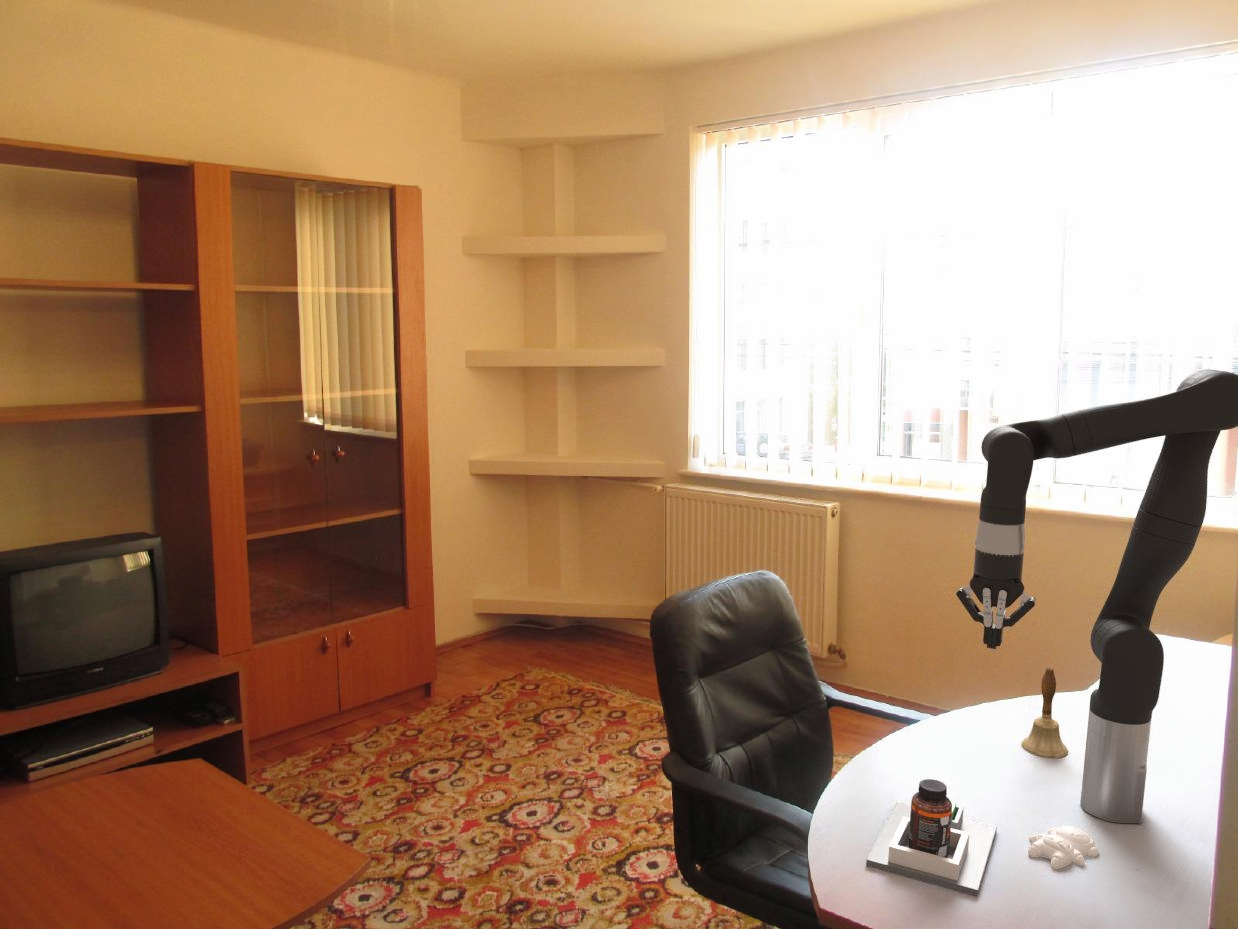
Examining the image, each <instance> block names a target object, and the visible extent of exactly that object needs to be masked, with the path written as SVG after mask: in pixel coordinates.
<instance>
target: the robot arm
mask: <svg viewBox="0 0 1238 929" xmlns="http://www.w3.org/2000/svg"><path fill="white" fill-rule="evenodd" d="M1237 427H1238V374H1236V373H1234V372H1231V371H1226V370H1219V369H1218V370H1217V369H1210V368H1209V369H1207V368H1206V369H1200V370H1196V371H1195V372H1192V373H1190V374H1189V375H1187V376H1186V377H1185V378H1183V380H1182V381H1181V382H1180V383H1179V385H1178V387H1177V389H1176V390H1175V391H1174V392H1171V393H1167V394H1163V395H1159V396H1155V397H1150V398H1146V399H1140V400H1134V401H1127V402H1118V403H1111V404H1103V405H1097V406H1092V407H1090V406H1089V407H1087V408H1082V409H1078V410H1072V411H1068V412H1065V413H1062V414H1058V415H1053V416H1050V417H1048V418H1043V419H1035V420H1028V421H1020V422H1014V423H1009V424H1005V425H1004V424H1003V425H1000V426H997V427H995V428H992V429H991V430H990V431H988V432H987V433H986V434H985V435H984V438H983V439H982V442H981V447H980V448H981V454H982V456H983V458H984V459H985V460H986V462H987V470H986V471H987V472H986V482H985V486H984V487H983V489H982V491H981V495H980V503H979V515H978V516H979V517H978V524H977V529H976V536H975V540H974V541H975V542H974V545H975V550H974V551H975V552H974V562H973V563H974V564H973V574H972V577H971V579H970V580H969V584H966V586H964V587H963V586H962V587H959V588H958V589H957V591H956V593H955V595H956V597H957V598H958V600H959V601H960V603H961V604H962V606H963V607H964V609H965V610H966V611H967V612H968V614H969V616H970V617H971V619H972V620H973V621H974V622H977V623H980V624H982V625H983V639H982V642H983V644H984V645H986V649H987V648H988V649H993V650H997V648H998V647H1001V644H1002V643H1003V634H1004V632H1003V631H1004V628H1007V627H1009V628H1011V627H1013V626H1015V624H1017V623H1018V622H1019V621H1020V620H1021V619H1022V618H1023V617H1024V616H1025V615H1026V614H1028V612H1030V611H1031V610H1032V609H1033V608H1034V607H1035V606H1036V603H1037V599H1036V597H1034V596H1030V595H1029V594H1028V593H1027V592H1026V591H1025V586H1024V584H1023V580H1022V579H1023V567H1024V566H1023V565H1024V556H1025V554H1024V553H1025V542H1026V529H1025V521H1026V510H1027V509H1026V508H1027V492H1028V489H1029V485H1030V482H1031V477H1032V473H1033V469H1034V461H1037V460H1043V459H1047V458H1048V459H1050V458H1051V459H1066V458H1072V457H1075V456H1076V457H1077V456H1079V455H1085V454H1089V453H1094V452H1096V451H1101V450H1105V449H1109V448H1110V449H1111V448H1113V447H1117V446H1121V445H1126V444H1130V443H1133V442H1134V443H1135V442H1139V441H1143V440H1148V439H1153V438H1160V437H1164V439H1163V443H1162V446H1161V449H1160V453H1159V455H1158V457H1157V460H1156V463H1155V465H1154V466H1153V467H1154V468H1153V469H1152V473H1151V475H1150V477H1149V481H1148V484H1147V486H1146V490H1145V493H1144V494H1143V497H1142V499H1141V502H1140V504H1139V508H1138V510H1137V513H1136V516H1135V518H1134V522H1133V524H1132V526H1131V530H1130V534H1129V537H1128V541H1127V543H1126V547H1125V549H1124V553H1123V555H1122V558H1121V561H1120V564H1119V567H1118V571H1117V574H1116V577H1115V580H1114V581H1113V585H1112V587H1111V589H1110V592H1109V594H1108V595H1107V598H1106V600H1105V602H1104V604H1103V606H1102V609H1101V610H1100V612H1099V614H1098V616H1097V619H1096V620H1095V622H1094V625H1093V628H1092V630H1091V631H1090V632H1091V633H1090V640H1089V641H1090V647H1091V649H1092V652H1093V654H1094V656H1095V657H1096V659H1098V660H1099V661H1098V662H1100V664H1101V668H1100V675H1099V682H1098V683H1099V684H1098V688H1097V689H1095V690H1093V691H1092V692H1091V694H1090V697H1089V699H1090V700H1089V709H1088V710H1089V711H1088V720H1087V731H1086V732H1087V733H1086V740H1085V752H1084V762H1083V770H1082V771H1083V773H1082V780H1081V783H1082V784H1081V791H1080V806H1081V808H1082V809H1083V810H1084V811H1086V812H1087V813H1088V814H1090V815H1092V817H1093V816H1094V817H1096V818H1097V819H1101V820H1104V821H1108V822H1112V823H1117V824H1118V823H1119V824H1131V823H1133V824H1139V825H1140V824H1142V820H1143V819H1142V818H1143V807H1144V798H1145V790H1146V781H1147V780H1146V779H1147V772H1148V771H1147V769H1148V768H1147V764H1148V763H1147V762H1148V755H1149V744H1150V737H1151V736H1150V734H1151V725H1152V717H1153V716H1152V715H1153V711H1154V710H1155V708H1156V706H1157V704H1158V701H1159V697H1160V691H1161V685H1162V678H1163V671H1164V665H1165V664H1164V662H1165V661H1164V660H1165V653H1164V652H1165V651H1164V647H1163V644H1162V642H1161V640H1160V639H1159V637H1158V636H1157V635H1156V634H1155V633H1154V632H1153V631H1152V630H1151V629H1150V626H1151V622H1152V618H1153V615H1154V612H1155V608H1156V606H1157V603H1158V600H1159V598H1160V596H1161V593H1162V592H1163V590H1164V589H1165V587H1166V586H1167V585H1168V584H1169V582H1170V581H1171V580H1172V579H1173V578H1174V577H1175V576H1176V574H1177V573H1178V572H1179V571H1180V570H1181V569H1182V567H1183V566H1184V564H1185V563H1186V562H1187V561H1188V559H1189V558H1190V557H1191V554H1192V552H1193V550H1194V549H1195V546H1196V542H1197V540H1198V537H1199V535H1200V532H1201V529H1202V526H1203V524H1204V521H1205V516H1206V512H1207V505H1208V504H1207V501H1208V500H1207V499H1208V479H1209V478H1208V476H1209V475H1208V473H1209V465H1210V464H1209V463H1210V460H1211V456H1212V453H1213V451H1214V448H1215V445H1216V443H1217V440H1218V438H1219V436H1220V434H1221V431H1227V430H1232V429H1234V428H1237ZM974 594H975V595H974ZM973 595H974V596H975V597H976V598H977V600H978V602H979V603H980V604H982V605H983V606H982V610H980V608H979V606H978V605H977V603H976V602H975V601H974V599H973V597H974V596H973ZM1018 598H1020V600H1019V602H1018V605H1019V607H1018V608H1016V610H1015V611H1013V612H1012V613H1011V614H1010V615H1009V616H1007V617H1005V616H1006V612H1007V608H1010V607H1011V606H1012V605H1013V604H1014V603H1015V602H1016V601H1017V600H1018ZM994 608H996V611H995V619H994Z"/></svg>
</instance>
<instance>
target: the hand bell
mask: <svg viewBox="0 0 1238 929" xmlns="http://www.w3.org/2000/svg"><path fill="white" fill-rule="evenodd" d="M1040 687H1041V695H1042V698H1043V699H1042V700H1043V701H1042V702H1043V703H1042V710H1041V712H1042V713H1041V717H1037V718H1035V719H1034V720H1033V723H1032V728H1031V730H1030V733H1029V734H1028V736H1027V737H1025V738H1023V740H1022V741H1021V743H1020V745H1021V747H1022V748H1023V749H1024V750H1025V751H1027V752H1028V753H1030V754H1032V755H1034V756H1038V757H1044V758H1051V759H1054V758H1055V759H1058V758H1063V757H1066V756H1067V755H1068V753H1069V749H1068V748H1067V746H1066V744H1064V742H1063V741H1062V738H1061V734H1060V725H1059V722H1058V721H1057V720H1055V719H1053V717H1052V713H1053V712H1052V709H1053V700H1054V697H1055V694H1056V689H1057V680H1056V676H1055V671H1054V669H1053V668H1051V667H1050V668H1049V667H1047V668H1046V669H1045V672H1044V674H1043V675H1042V679H1041V686H1040Z"/></svg>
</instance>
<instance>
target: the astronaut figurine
mask: <svg viewBox="0 0 1238 929" xmlns="http://www.w3.org/2000/svg"><path fill="white" fill-rule="evenodd" d="M1047 831H1048V832H1047V834H1045V833H1038V835H1037V834H1033V835H1032V836H1030V837H1029V838H1028V841H1029V842H1030V843H1031V845H1030V846H1029V847H1028V850H1027V854H1028V856H1029V855H1030V856H1029V857H1032V856H1033V857H1032V858H1036V857H1035V856H1039V857H1044V856H1045V857H1044V858H1047V859H1048V860H1050V867H1051V869H1054V870H1058V869H1060V868H1064V867H1066V866H1068V865H1070V864H1072V863H1074V864H1076V865H1078V866H1084V865H1085V862H1086V861H1085V858H1084V856H1088V857H1097V856H1098V855H1099V849H1098V848H1097V846H1096V844H1095V840H1093V838H1092V837H1091V836H1089V835H1088V834H1087V833H1086V832H1085V831H1083V830H1081V829H1079V828H1077V827H1073V826H1068V825H1067V826H1066V825H1063V826H1059V827H1058V828H1056V827H1052V828H1049V829H1048V830H1047Z"/></svg>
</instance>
